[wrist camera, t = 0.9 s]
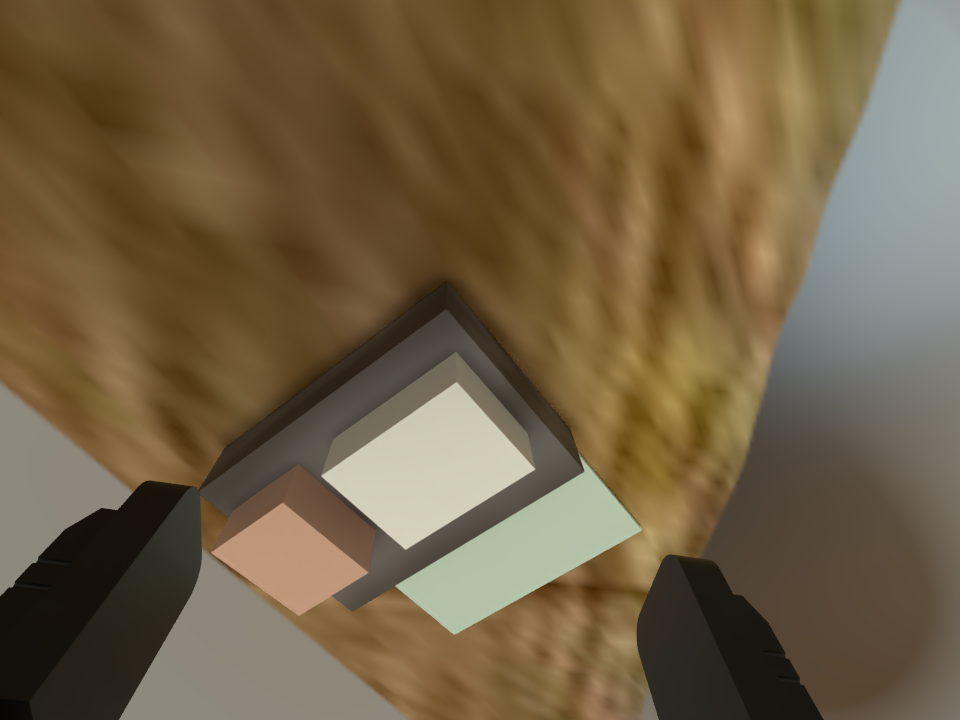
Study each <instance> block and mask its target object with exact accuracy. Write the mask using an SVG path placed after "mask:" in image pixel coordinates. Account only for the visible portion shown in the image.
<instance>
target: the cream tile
mask: <svg viewBox="0 0 960 720" xmlns="http://www.w3.org/2000/svg"><path fill="white" fill-rule="evenodd" d="M534 470H535V465H534V460H533V456H532V451H531V446H530V442H529V437H528V433H527V432H526V431H525V430H524V429H523V427H522V426H521V425H520V424H519V423H518V422H517V421H516V419H515V418H514V417H513V416H512V415H511V414H510V413H509V411H508V410H507V409H506V408H505V407H504V406H503V405H502V403H501V402H500V401H499V400H498V399H497V398H496V397H495V395H494V394H493V393H492V392H491V391H490V390H489V389H488V387H487V386H486V385H485V384H484V383H483V382H482V381H481V379H480V378H479V377H478V376H477V375H476V374H475V373H474V371H473V370H472V369H471V368H470V367H469V366H468V365H467V363H466V362H465V361H464V360H463V359H462V358H461V357H460V355H459V354H458V353H457V352H455V353H454V354H452V355H451V356H449V357H448V358H447V359H445V360H444V361H442V362H441V363H440V364H438V365H437V366H435V367H434V368H433V369H431V370H430V371H428V372H427V373H426V374H424V375H423V376H421V377H420V378H419V379H417V380H416V381H414V382H413V383H412V384H410V385H409V386H407V387H406V388H404V389H403V390H402V391H400V392H399V393H397V394H396V395H395V396H393V397H392V398H390V399H389V400H388V401H386V402H385V403H383V404H382V405H381V406H379V407H378V408H376V409H375V410H374V411H372V412H371V413H369V414H368V415H366V416H365V417H364V418H362V419H361V420H359V421H358V422H357V423H355V424H354V425H352V426H351V427H350V428H348V429H347V430H345V431H344V432H343V433H341V434H340V435H338V436H337V437H336V438H334V439H333V442H332V445H331V448H330V451H329V454H328V457H327V460H326V463H325V466H324V469H323V472H322V475H321V477H323V478H324V479H325V480H326V481H327V482H328V483H329V484H331V485H332V486H333V487H334V488H335V489H336V490H338V491H339V492H340V493H341V494H342V495H343V496H344V497H346V498H347V499H348V500H349V501H350V502H351V503H352V504H354V505H355V506H356V507H357V508H358V509H359V510H360V511H362V512H363V513H364V514H365V515H366V516H367V517H369V518H370V519H371V520H372V521H373V522H374V523H375V524H377V525H378V526H379V527H380V528H381V529H382V530H383V531H385V532H386V533H387V534H388V535H389V536H390V537H391V538H393V539H394V540H395V541H396V542H397V543H398V544H399V545H401V546H402V547H403V548H404V549H405V550H406V549H408V548H409V547H411V546H413V545H414V544H416V543H417V542H419V541H421V540H422V539H424V538H426V537H427V536H429V535H430V534H432V533H434V532H435V531H437V530H438V529H440V528H442V527H443V526H445V525H446V524H448V523H450V522H451V521H453V520H455V519H456V518H458V517H459V516H461V515H463V514H464V513H466V512H467V511H469V510H471V509H472V508H474V507H476V506H477V505H479V504H480V503H482V502H484V501H485V500H487V499H488V498H490V497H492V496H493V495H495V494H497V493H498V492H500V491H501V490H503V489H505V488H506V487H508V486H509V485H511V484H513V483H514V482H516V481H518V480H519V479H521V478H522V477H524V476H526V475H527V474H529V473H530V472H532V471H534Z"/></svg>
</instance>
